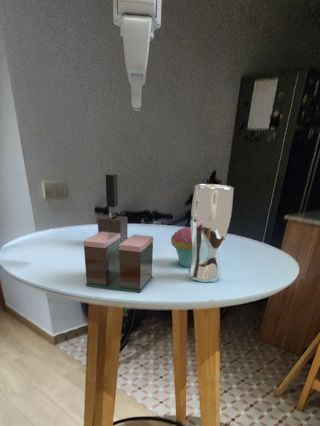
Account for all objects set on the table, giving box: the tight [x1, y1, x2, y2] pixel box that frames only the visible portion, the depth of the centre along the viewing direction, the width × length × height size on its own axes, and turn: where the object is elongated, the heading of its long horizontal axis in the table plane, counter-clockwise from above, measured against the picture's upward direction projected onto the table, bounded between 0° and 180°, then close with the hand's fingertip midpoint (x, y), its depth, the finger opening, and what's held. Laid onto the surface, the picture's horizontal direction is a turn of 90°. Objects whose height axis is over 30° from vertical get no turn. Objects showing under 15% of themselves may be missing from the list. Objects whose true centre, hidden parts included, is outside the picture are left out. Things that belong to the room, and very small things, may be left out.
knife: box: [105, 173, 119, 219], centre depth 83 cm, size 2×3×14 cm, turn 167°
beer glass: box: [187, 183, 235, 283], centre depth 65 cm, size 7×7×15 cm
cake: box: [83, 232, 154, 294], centre depth 63 cm, size 10×9×7 cm
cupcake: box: [170, 226, 192, 268], centre depth 73 cm, size 9×8×12 cm
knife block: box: [97, 214, 129, 243], centre depth 85 cm, size 5×5×6 cm
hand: (136, 109), depth 75 cm, fingers open, 8 cm apart
